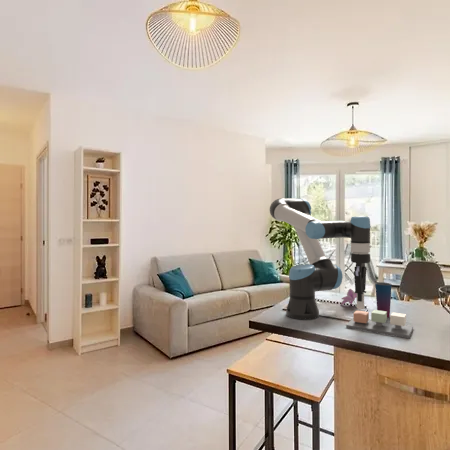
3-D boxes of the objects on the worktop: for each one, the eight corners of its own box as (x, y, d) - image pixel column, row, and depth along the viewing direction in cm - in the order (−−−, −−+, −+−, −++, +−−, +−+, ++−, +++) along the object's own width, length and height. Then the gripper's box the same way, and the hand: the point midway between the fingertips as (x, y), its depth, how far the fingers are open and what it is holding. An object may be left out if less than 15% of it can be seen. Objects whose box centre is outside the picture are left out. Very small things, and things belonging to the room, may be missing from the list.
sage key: (371, 321, 134) (371, 312, 134) (373, 318, 138) (373, 309, 138) (384, 323, 131) (384, 314, 131) (386, 319, 135) (386, 311, 135)
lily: (365, 306, 171) (357, 289, 175) (370, 303, 160) (361, 284, 164) (343, 314, 172) (335, 296, 176) (346, 311, 161) (338, 292, 165)
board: (346, 327, 136) (346, 319, 136) (354, 319, 147) (353, 312, 147) (409, 338, 123) (409, 329, 123) (413, 328, 133) (412, 320, 133)
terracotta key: (353, 321, 138) (353, 313, 138) (356, 318, 142) (356, 310, 142) (366, 323, 135) (366, 315, 135) (368, 320, 139) (368, 312, 139)
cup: (393, 318, 147) (393, 285, 147) (377, 318, 149) (377, 285, 148) (389, 314, 154) (389, 282, 154) (373, 313, 155) (373, 282, 155)
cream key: (390, 324, 130) (390, 315, 130) (392, 320, 134) (392, 312, 134) (404, 326, 127) (404, 317, 127) (406, 322, 131) (406, 314, 131)
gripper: (366, 255, 131) (366, 313, 132) (373, 251, 141) (373, 306, 142) (347, 254, 135) (347, 310, 136) (355, 250, 146) (355, 303, 147)
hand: (360, 308), depth 139 cm, fingers closed
